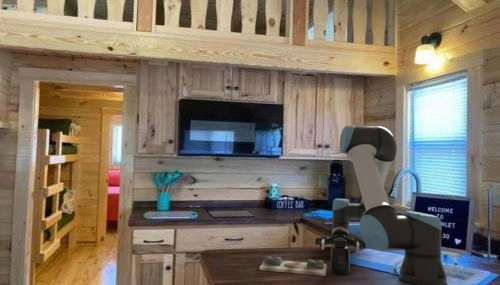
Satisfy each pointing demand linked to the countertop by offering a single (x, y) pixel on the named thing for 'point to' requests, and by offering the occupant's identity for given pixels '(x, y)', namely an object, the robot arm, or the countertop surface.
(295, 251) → the countertop surface
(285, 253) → the countertop surface
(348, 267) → the supplement bottle
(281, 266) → the cream base tray
